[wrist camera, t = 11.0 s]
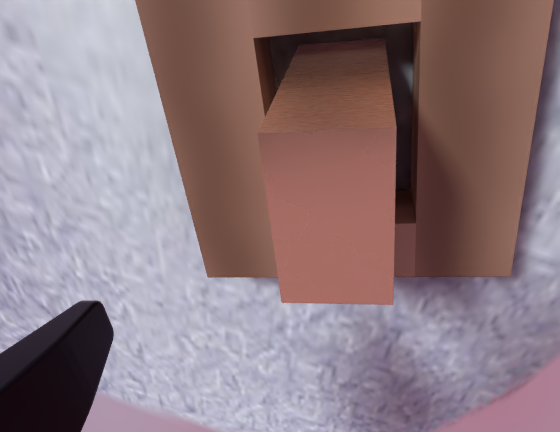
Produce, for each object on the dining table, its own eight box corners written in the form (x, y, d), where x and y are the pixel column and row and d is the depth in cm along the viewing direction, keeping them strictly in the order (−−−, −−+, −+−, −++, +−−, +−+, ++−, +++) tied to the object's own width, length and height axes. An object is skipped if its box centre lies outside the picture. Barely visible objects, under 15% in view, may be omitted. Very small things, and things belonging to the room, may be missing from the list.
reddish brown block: (384, 37, 17) (396, 127, 10) (384, 167, 20) (393, 304, 13) (299, 44, 17) (257, 133, 11) (309, 169, 20) (281, 302, 13)
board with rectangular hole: (539, -100, 14) (569, -100, 12) (496, 238, 20) (510, 276, 18) (155, -46, 16) (125, -38, 14) (222, 242, 23) (207, 277, 21)
